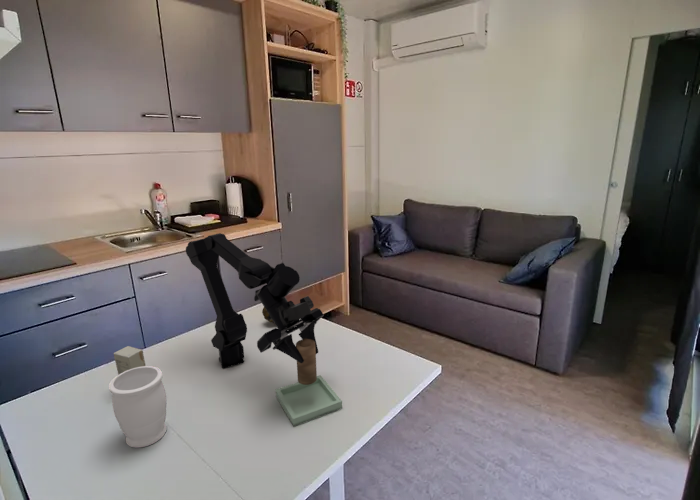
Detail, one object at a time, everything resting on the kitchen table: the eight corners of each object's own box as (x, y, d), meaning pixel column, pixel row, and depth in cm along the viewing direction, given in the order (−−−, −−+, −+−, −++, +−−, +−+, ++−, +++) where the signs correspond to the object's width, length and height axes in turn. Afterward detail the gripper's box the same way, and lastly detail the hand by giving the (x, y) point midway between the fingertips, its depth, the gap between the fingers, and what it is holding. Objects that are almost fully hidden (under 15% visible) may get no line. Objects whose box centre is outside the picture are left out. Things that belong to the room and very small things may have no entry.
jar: (181, 424, 92) (172, 369, 88) (146, 457, 82) (134, 397, 78) (147, 415, 95) (137, 362, 91) (109, 445, 86) (96, 387, 82)
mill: (297, 385, 95) (294, 344, 92) (298, 373, 100) (296, 335, 96) (316, 384, 95) (314, 343, 92) (317, 373, 100) (315, 334, 97)
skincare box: (151, 389, 105) (144, 349, 102) (136, 398, 102) (129, 357, 98) (135, 383, 108) (127, 344, 105) (120, 392, 104) (112, 352, 101)
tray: (293, 426, 91) (293, 419, 90) (275, 396, 102) (275, 389, 101) (342, 408, 97) (342, 401, 96) (320, 381, 108) (320, 375, 107)
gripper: (261, 302, 86) (298, 361, 83) (317, 279, 100) (351, 329, 97) (242, 324, 93) (275, 380, 90) (297, 299, 107) (328, 347, 104)
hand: (310, 357), depth 95 cm, fingers closed on mill, 5 cm apart
